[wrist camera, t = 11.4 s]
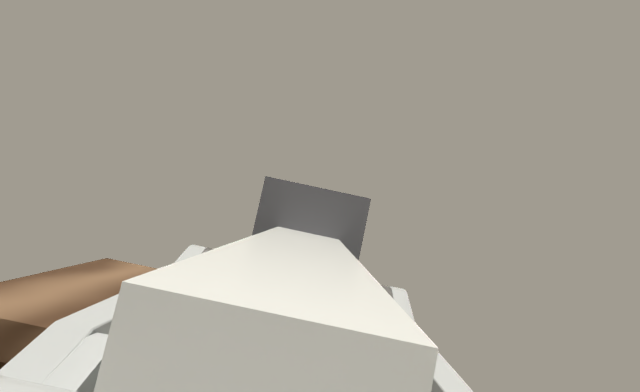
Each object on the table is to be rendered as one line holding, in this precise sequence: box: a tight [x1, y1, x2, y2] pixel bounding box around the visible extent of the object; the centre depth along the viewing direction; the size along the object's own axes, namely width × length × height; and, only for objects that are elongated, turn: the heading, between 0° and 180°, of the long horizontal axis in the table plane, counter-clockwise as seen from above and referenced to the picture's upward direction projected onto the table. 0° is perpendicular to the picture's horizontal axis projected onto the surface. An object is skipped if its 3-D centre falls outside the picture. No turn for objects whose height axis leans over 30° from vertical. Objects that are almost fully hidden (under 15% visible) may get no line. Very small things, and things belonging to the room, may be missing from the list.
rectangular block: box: [94, 177, 439, 392], centre depth 13 cm, size 7×20×6 cm, turn 0°
